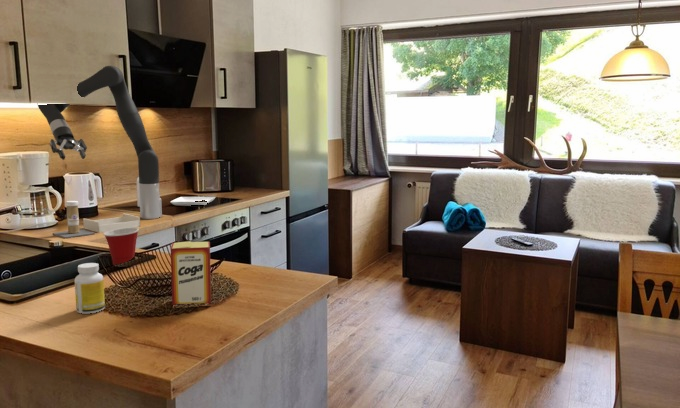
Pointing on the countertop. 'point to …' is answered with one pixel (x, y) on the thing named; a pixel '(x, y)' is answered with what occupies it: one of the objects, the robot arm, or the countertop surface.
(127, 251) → the plastic cup
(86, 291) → the pill bottle
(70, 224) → the sprinkles bottle
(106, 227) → the white shallow box
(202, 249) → the baking soda box
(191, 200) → the salad plate
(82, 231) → the coaster
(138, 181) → the milk carton
